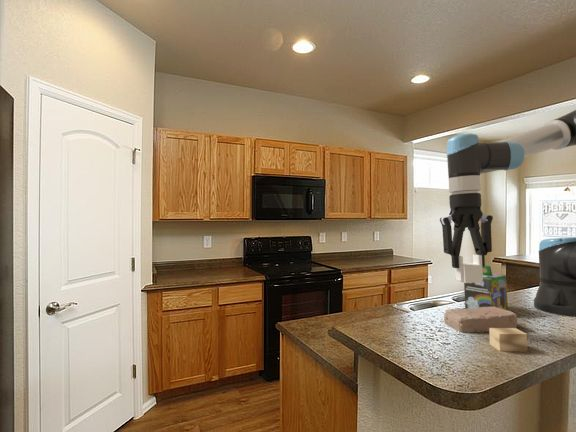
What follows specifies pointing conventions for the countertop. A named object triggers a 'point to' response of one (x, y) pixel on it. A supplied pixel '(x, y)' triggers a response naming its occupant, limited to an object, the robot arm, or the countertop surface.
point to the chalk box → (487, 291)
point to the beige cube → (472, 273)
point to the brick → (479, 319)
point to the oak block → (508, 339)
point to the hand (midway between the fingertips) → (469, 279)
